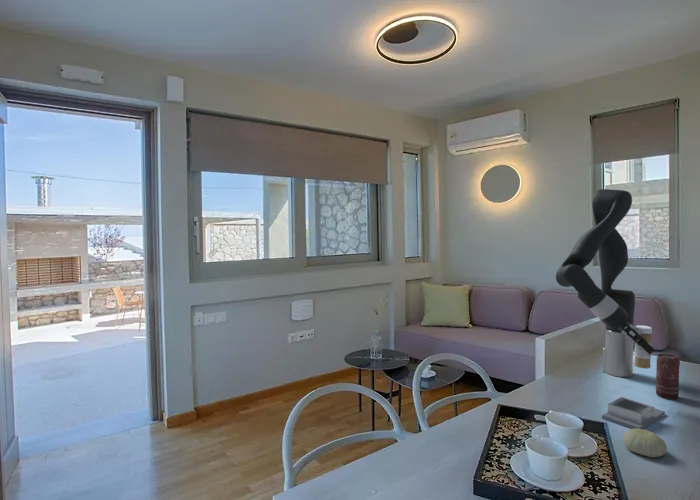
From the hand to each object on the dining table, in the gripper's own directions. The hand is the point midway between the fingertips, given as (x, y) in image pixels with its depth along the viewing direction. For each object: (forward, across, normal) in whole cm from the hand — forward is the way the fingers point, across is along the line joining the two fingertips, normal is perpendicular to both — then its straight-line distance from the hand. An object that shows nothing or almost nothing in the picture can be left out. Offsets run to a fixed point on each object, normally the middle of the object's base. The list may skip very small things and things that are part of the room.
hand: (649, 349), depth 136 cm
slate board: (+7, -13, +18) cm, 23 cm away
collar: (+6, -15, +18) cm, 24 cm away
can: (+18, +8, +7) cm, 21 cm away
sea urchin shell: (+6, -34, +20) cm, 40 cm away
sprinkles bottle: (+3, 0, +6) cm, 6 cm away
